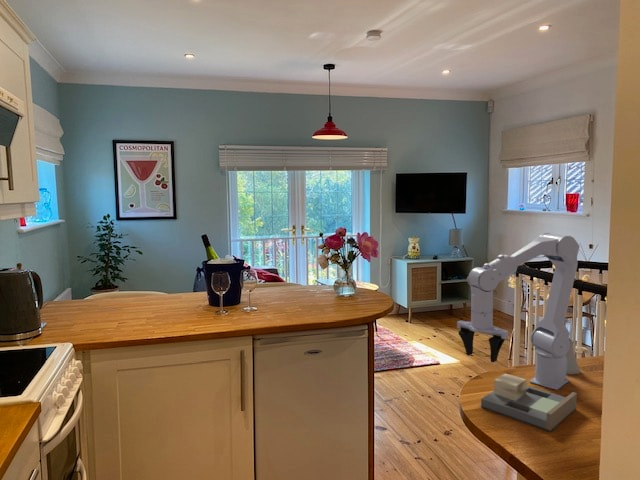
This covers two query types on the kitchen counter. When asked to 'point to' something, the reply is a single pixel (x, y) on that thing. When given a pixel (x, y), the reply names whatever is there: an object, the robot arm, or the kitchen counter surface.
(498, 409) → the board
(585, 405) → the kitchen counter surface
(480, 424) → the kitchen counter surface
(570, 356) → the flask
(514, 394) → the beech block
